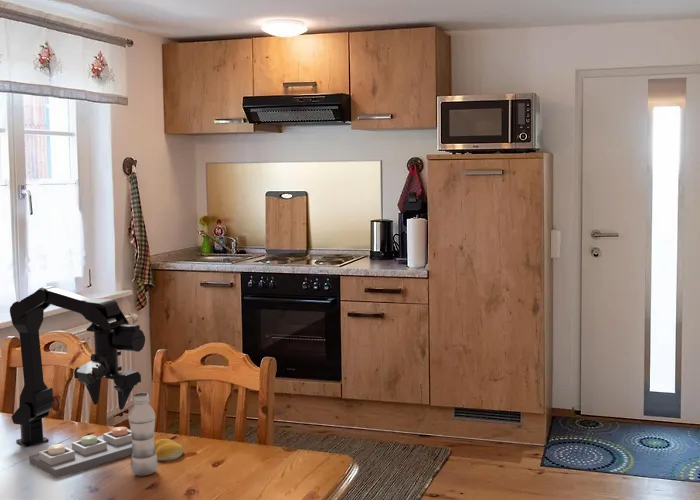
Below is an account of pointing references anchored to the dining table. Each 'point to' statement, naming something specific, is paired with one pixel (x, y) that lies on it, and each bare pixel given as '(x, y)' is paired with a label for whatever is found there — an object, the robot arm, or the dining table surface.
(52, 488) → the dining table surface
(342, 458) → the dining table surface
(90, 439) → the sage button
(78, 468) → the panel
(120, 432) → the terracotta button
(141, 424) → the plastic bottle
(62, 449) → the cream button
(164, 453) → the bread roll
